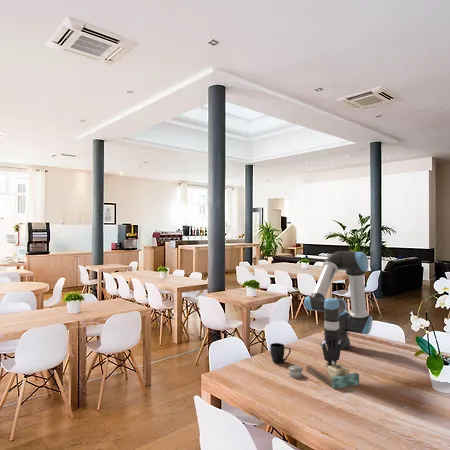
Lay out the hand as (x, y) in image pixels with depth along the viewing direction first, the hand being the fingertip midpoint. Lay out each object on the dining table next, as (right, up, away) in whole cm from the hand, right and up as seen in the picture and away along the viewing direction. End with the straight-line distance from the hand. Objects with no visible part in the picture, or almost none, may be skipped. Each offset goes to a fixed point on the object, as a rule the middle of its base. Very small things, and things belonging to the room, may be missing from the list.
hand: (331, 373), depth 190 cm
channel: (0, -2, +1) cm, 2 cm away
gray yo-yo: (-18, -2, +3) cm, 19 cm away
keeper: (+2, -2, -5) cm, 5 cm away
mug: (-23, -3, +23) cm, 33 cm away
